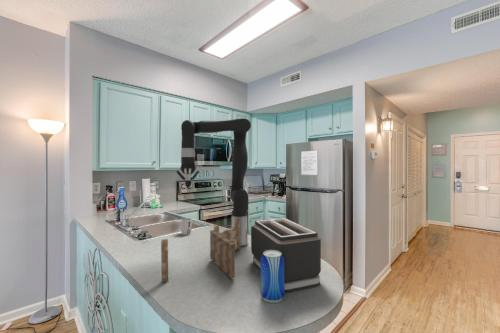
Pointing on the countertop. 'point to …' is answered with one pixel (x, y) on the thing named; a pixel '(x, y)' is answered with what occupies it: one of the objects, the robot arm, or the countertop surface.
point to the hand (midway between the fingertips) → (188, 187)
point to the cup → (186, 225)
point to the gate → (222, 253)
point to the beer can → (272, 276)
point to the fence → (230, 233)
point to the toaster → (289, 251)
